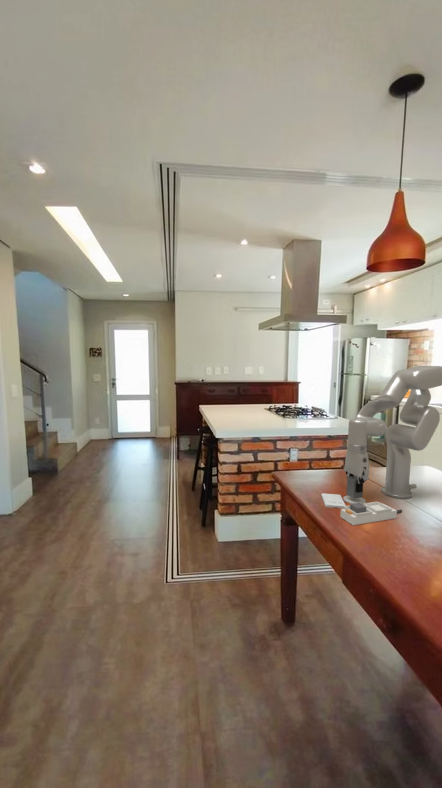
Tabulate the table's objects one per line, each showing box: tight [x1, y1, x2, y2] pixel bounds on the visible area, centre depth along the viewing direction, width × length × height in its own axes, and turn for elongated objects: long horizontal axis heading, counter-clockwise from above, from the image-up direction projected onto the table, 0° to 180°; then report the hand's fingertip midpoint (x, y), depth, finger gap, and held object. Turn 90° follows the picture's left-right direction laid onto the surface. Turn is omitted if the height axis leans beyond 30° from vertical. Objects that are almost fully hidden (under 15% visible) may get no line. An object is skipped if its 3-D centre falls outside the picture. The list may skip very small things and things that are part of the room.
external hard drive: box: [321, 492, 347, 509], centre depth 143 cm, size 2×8×12 cm
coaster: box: [342, 495, 367, 505], centre depth 145 cm, size 9×9×1 cm
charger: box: [346, 475, 364, 499], centre depth 144 cm, size 4×4×8 cm
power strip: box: [339, 501, 403, 526], centre depth 129 cm, size 26×7×5 cm, turn 108°
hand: (354, 489), depth 144 cm, fingers closed on charger, 4 cm apart
